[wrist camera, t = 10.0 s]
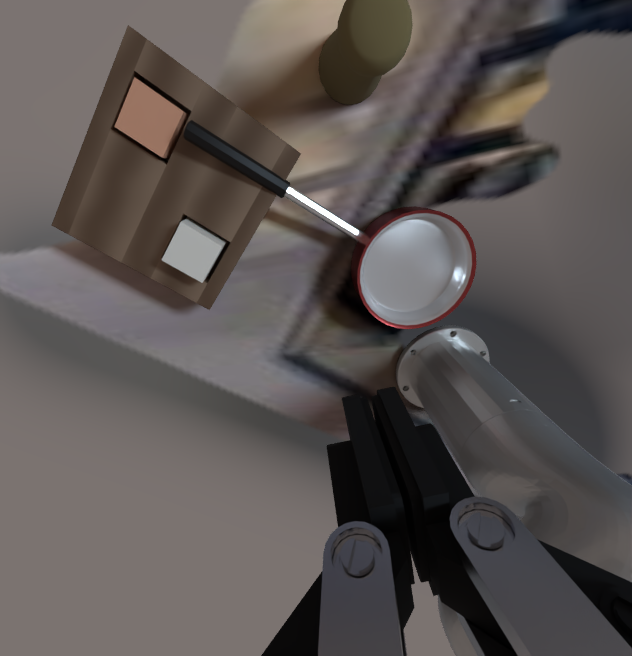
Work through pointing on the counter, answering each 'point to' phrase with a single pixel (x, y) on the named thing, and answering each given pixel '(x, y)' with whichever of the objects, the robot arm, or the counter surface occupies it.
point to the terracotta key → (151, 119)
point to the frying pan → (381, 247)
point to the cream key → (193, 249)
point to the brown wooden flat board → (167, 176)
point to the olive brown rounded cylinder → (364, 47)
